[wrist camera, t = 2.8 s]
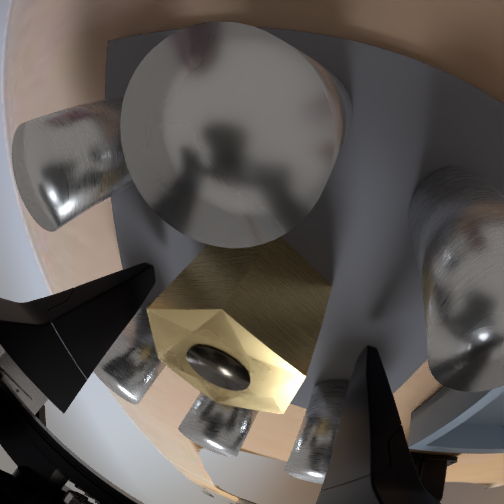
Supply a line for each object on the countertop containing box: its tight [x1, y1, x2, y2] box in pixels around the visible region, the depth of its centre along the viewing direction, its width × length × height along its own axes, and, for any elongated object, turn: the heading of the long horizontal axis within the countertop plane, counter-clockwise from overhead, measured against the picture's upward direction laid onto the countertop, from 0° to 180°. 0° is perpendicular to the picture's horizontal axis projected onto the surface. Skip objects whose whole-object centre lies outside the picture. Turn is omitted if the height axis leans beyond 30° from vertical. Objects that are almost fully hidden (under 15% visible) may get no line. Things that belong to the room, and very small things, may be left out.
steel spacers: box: [12, 21, 504, 484], centre depth 9 cm, size 17×14×5 cm
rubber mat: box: [105, 27, 504, 409], centre depth 11 cm, size 18×16×1 cm
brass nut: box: [147, 237, 332, 414], centre depth 10 cm, size 6×5×4 cm
